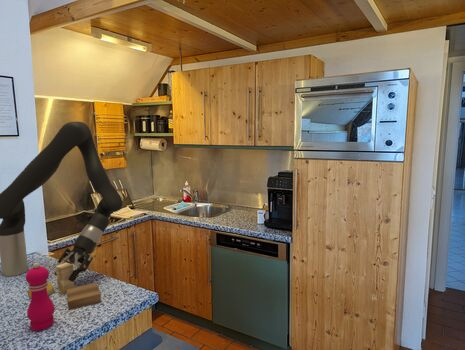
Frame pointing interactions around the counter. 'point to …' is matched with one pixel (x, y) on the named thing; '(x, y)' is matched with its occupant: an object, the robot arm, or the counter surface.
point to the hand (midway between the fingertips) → (63, 278)
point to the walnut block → (83, 295)
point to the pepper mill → (39, 298)
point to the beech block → (64, 277)
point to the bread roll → (49, 289)
